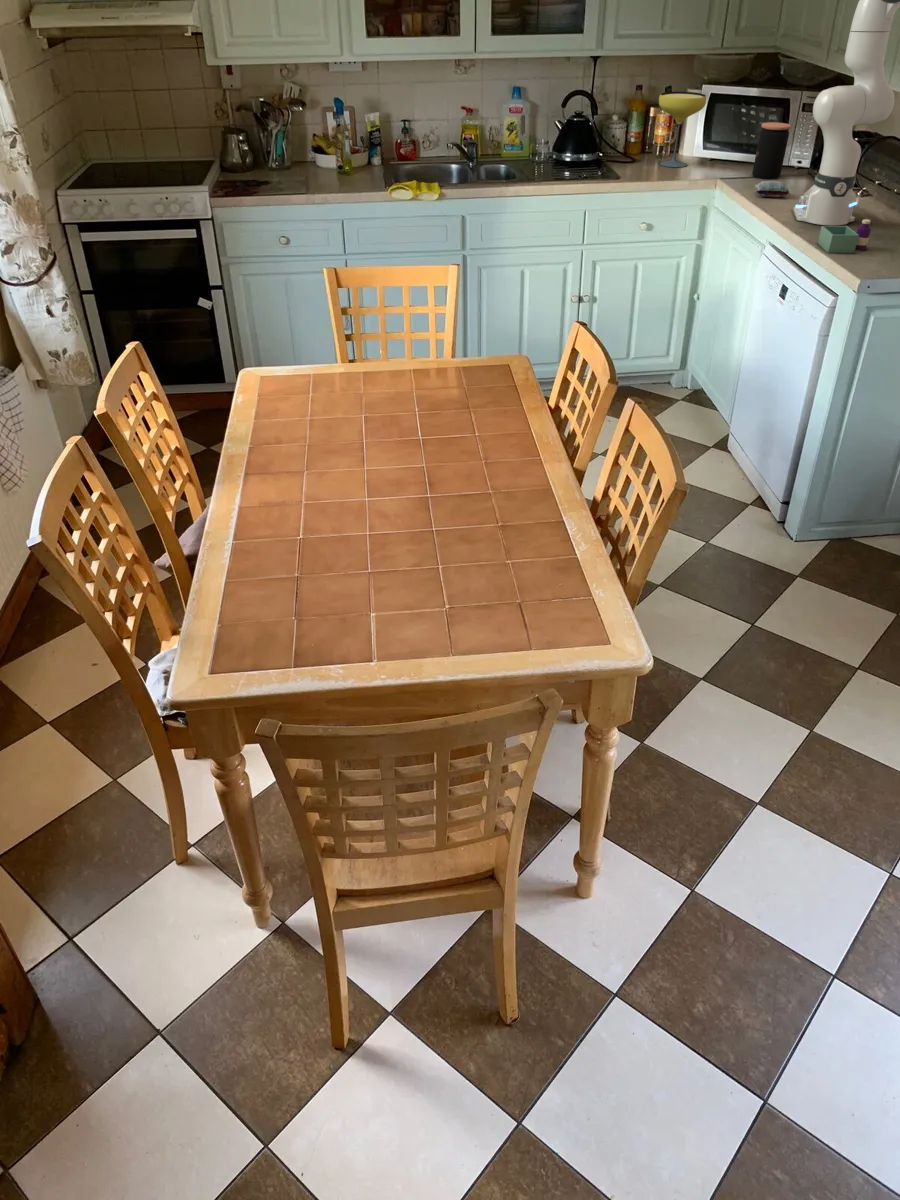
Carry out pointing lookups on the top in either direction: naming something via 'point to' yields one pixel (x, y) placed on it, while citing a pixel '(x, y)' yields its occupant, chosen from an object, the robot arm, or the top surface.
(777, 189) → the packaged food
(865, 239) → the grape juice bottle
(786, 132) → the coffee jar
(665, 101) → the cocktail glass
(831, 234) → the bin
